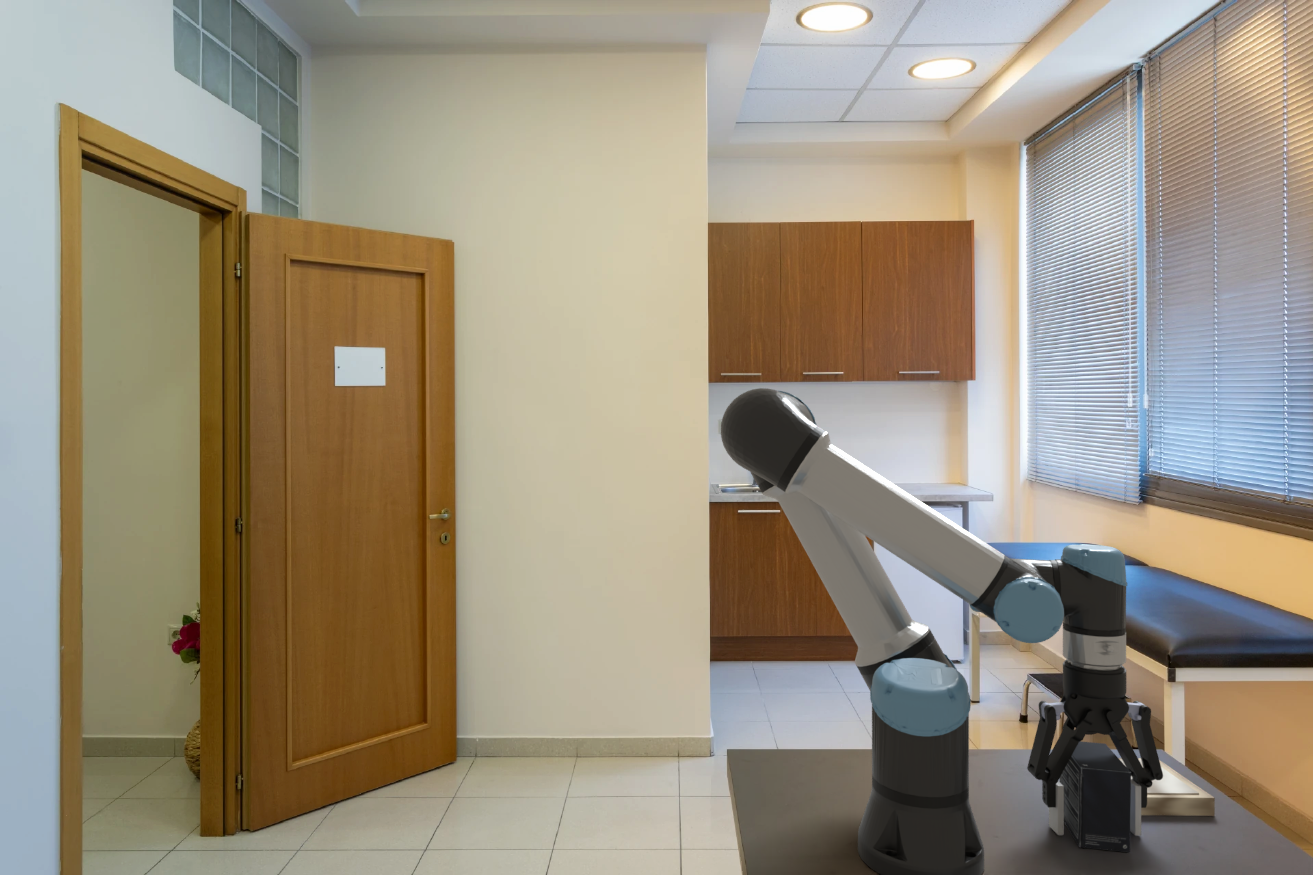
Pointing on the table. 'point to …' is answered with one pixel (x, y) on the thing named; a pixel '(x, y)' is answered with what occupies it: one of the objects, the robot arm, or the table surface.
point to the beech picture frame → (1176, 796)
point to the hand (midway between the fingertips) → (1094, 830)
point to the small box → (1097, 798)
